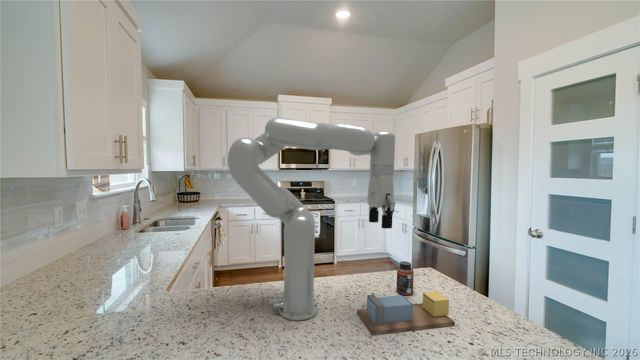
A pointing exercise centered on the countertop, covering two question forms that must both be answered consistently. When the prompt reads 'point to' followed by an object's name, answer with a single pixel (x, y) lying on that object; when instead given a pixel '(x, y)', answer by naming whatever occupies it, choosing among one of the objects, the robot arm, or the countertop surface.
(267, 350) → the countertop surface
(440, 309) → the yellow block
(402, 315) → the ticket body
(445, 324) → the board
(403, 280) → the supplement bottle
